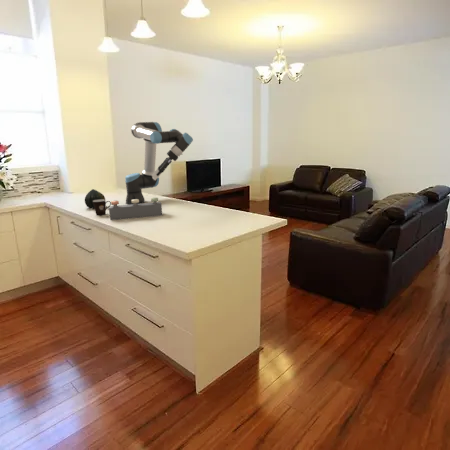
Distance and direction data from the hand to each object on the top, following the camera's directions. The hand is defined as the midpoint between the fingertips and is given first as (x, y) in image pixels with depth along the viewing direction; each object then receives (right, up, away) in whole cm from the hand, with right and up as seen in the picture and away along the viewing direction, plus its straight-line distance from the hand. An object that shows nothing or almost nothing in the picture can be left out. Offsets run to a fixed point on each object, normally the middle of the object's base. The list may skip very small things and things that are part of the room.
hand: (153, 178), depth 227 cm
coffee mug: (-39, -24, +15) cm, 48 cm away
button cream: (-12, -18, +2) cm, 22 cm away
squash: (-53, -18, +38) cm, 68 cm away
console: (-12, -26, +4) cm, 29 cm away
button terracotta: (-25, -19, -1) cm, 32 cm away
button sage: (0, -18, +5) cm, 18 cm away
